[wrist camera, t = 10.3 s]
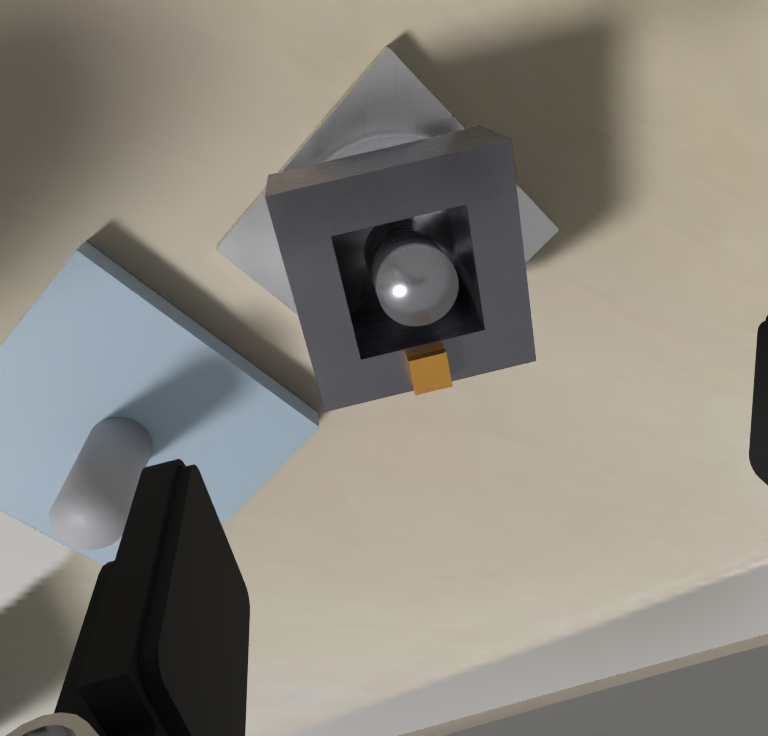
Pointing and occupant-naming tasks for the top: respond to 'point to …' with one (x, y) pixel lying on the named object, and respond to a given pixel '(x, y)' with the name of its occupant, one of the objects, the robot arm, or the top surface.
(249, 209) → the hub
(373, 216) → the grey square socket block
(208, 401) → the stand
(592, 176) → the top surface
